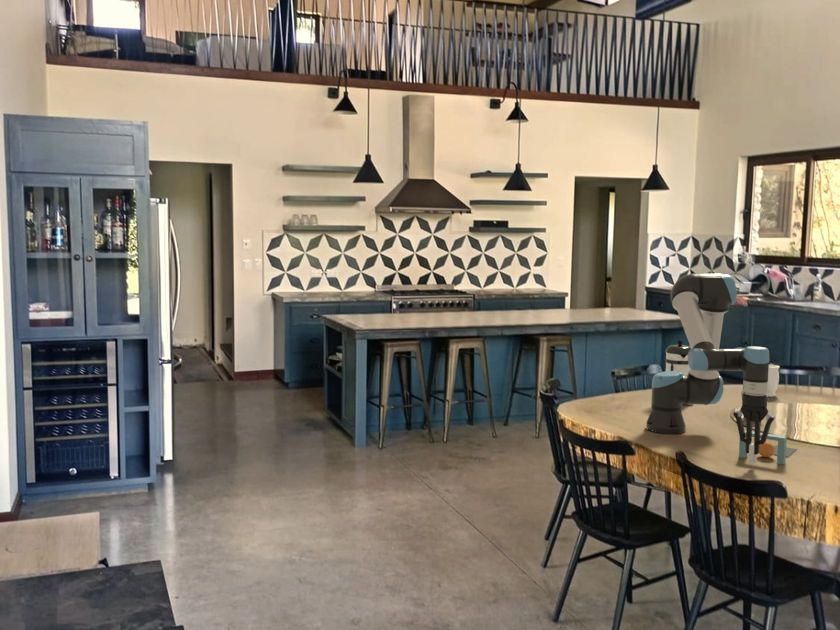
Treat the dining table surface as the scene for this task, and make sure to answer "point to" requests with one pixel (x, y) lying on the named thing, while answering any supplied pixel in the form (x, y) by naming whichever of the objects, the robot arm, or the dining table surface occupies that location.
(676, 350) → the coffee press
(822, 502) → the dining table surface
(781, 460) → the bridge
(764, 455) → the ball
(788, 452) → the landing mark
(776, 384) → the jar
